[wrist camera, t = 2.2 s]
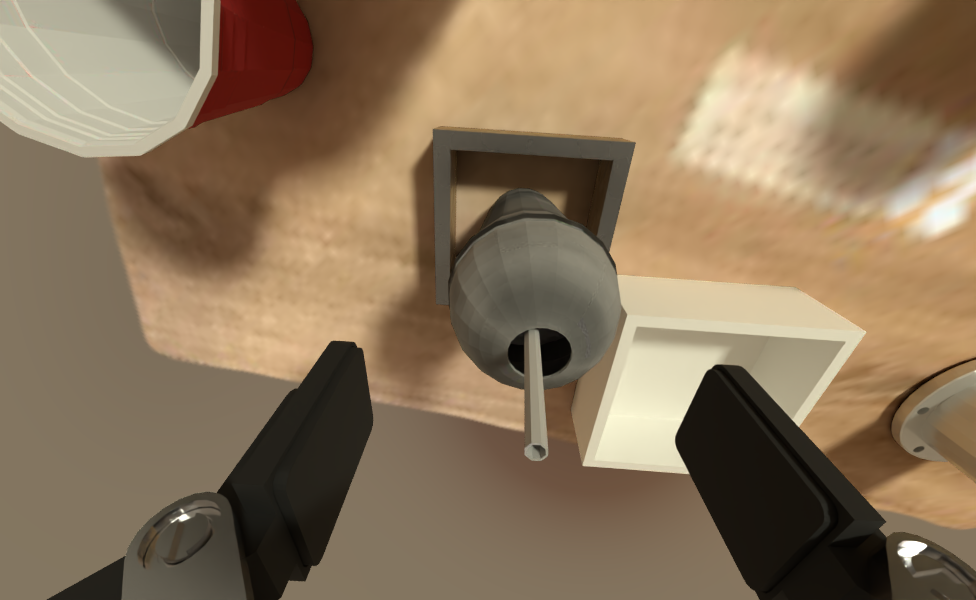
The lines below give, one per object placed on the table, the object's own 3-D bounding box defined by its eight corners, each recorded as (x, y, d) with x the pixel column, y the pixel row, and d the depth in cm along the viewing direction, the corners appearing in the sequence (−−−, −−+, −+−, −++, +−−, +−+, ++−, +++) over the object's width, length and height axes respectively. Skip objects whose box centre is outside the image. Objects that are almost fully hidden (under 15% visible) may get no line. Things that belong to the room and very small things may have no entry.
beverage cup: (496, 280, 27) (481, 588, 10) (452, 195, 24) (317, 424, 7) (586, 243, 26) (759, 539, 8) (551, 146, 23) (707, 288, 5)
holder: (620, 138, 22) (635, 142, 19) (585, 295, 28) (593, 315, 25) (441, 126, 22) (432, 129, 20) (442, 285, 28) (436, 304, 25)
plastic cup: (356, -78, 18) (143, -336, 7) (359, 148, 23) (238, 184, 13) (138, -123, 17) (-419, -469, 7) (192, 118, 23) (-77, 128, 12)
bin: (795, 287, 27) (866, 331, 21) (721, 421, 34) (761, 479, 28) (603, 273, 27) (627, 314, 21) (570, 409, 34) (582, 465, 29)
